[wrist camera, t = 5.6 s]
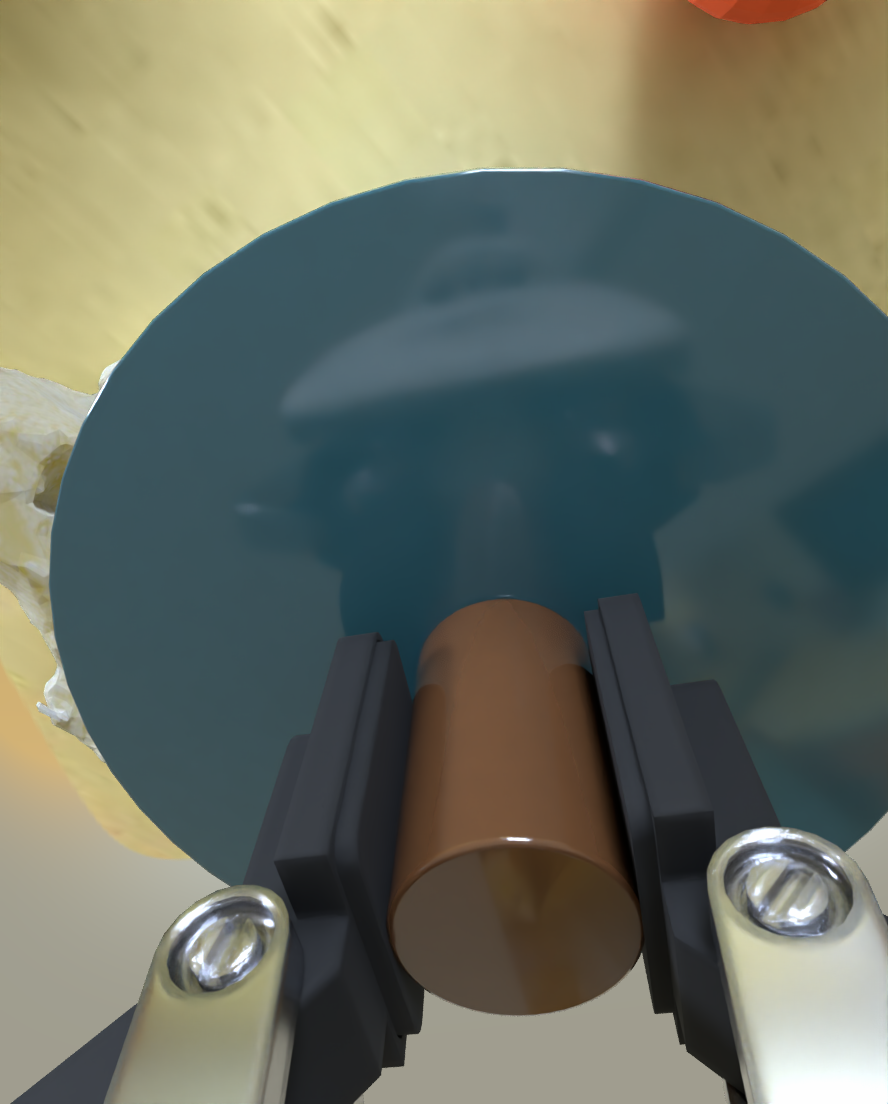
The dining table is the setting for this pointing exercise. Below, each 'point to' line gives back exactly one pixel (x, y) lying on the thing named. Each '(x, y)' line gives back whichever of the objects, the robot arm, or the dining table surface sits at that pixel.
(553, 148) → the dining table surface
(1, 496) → the white coral rock
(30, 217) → the dining table surface
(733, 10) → the clementine
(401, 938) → the jar lid
